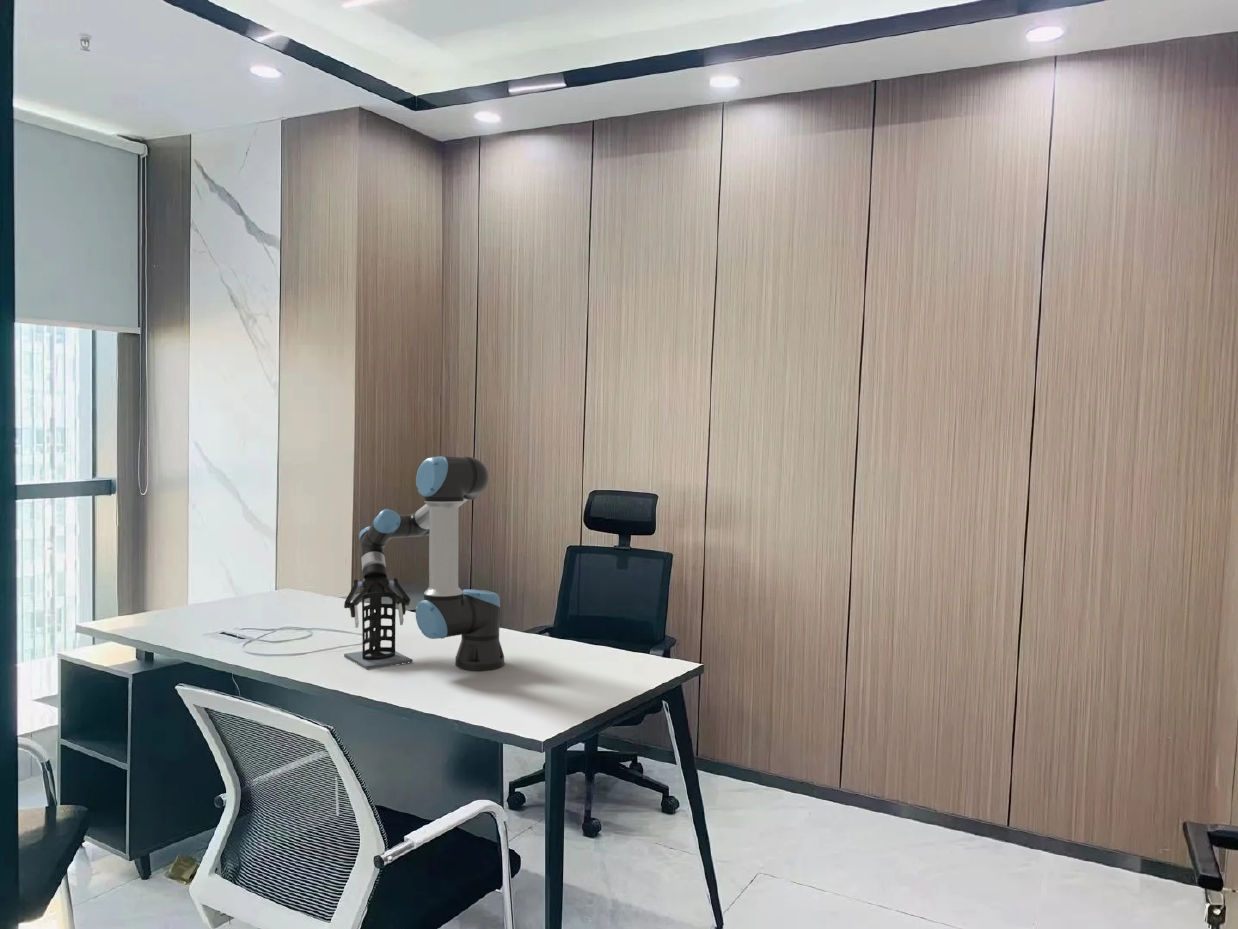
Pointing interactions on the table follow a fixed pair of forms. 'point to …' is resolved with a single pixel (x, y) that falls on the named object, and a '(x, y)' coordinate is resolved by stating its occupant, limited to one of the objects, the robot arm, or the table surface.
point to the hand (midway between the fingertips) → (379, 624)
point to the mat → (377, 660)
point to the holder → (378, 625)
